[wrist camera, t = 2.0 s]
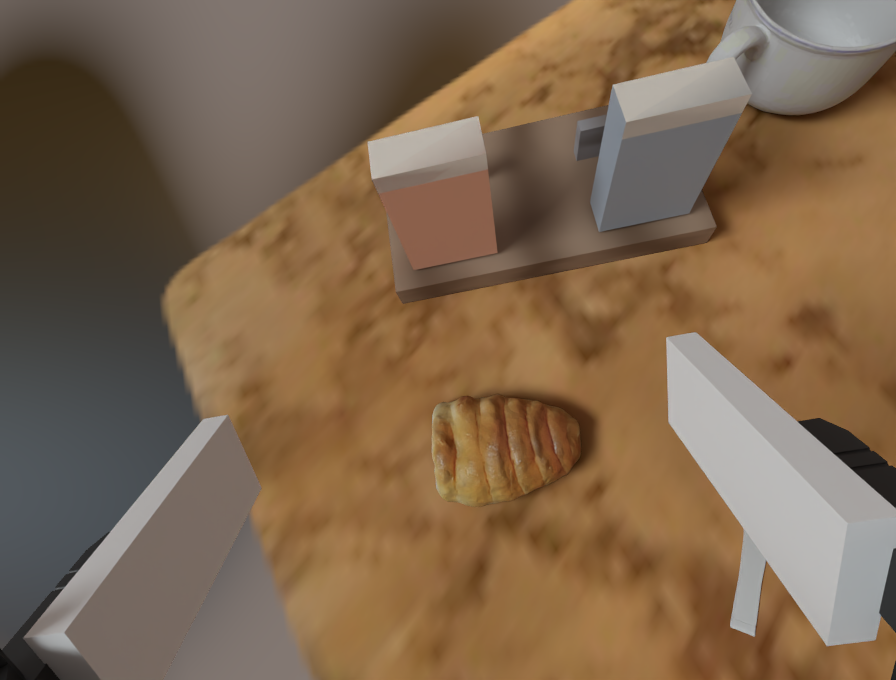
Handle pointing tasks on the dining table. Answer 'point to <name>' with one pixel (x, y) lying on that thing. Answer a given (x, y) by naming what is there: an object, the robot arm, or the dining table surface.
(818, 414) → the dining table surface
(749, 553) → the butter knife
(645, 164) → the grey rectangular block
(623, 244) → the taupe stand
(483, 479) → the pastry
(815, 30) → the teacup
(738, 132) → the dining table surface
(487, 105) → the dining table surface
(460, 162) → the pink upright block
